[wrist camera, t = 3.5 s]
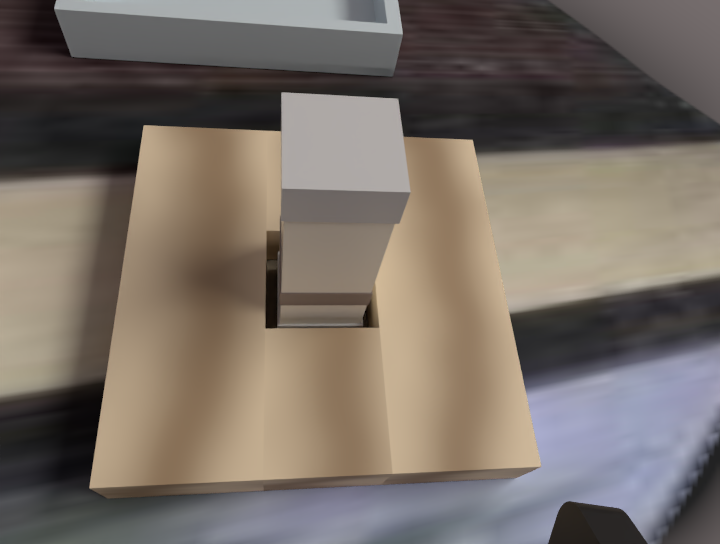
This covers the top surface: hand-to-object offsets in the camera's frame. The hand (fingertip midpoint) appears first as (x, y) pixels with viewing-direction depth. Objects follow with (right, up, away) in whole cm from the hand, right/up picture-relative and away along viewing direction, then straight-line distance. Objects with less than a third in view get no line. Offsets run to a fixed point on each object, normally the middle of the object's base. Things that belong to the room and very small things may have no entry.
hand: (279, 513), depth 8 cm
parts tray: (-6, +20, +27) cm, 35 cm away
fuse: (-1, +2, +18) cm, 18 cm away
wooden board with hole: (-1, +2, +18) cm, 18 cm away
